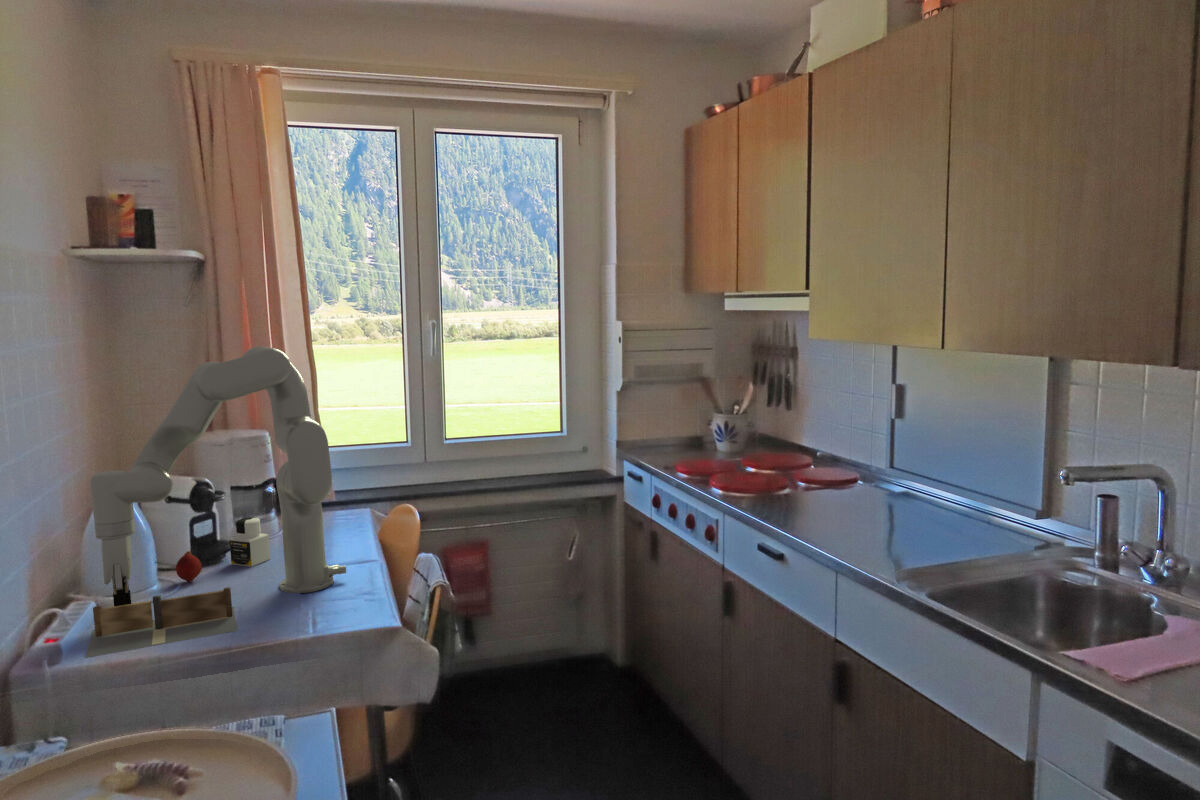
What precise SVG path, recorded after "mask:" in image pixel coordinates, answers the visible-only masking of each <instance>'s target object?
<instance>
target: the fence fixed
mask: <svg viewBox="0 0 1200 800" xmlns="http://www.w3.org/2000/svg"><path fill="white" fill-rule="evenodd" d="M152 606H153V607H152V608H153V616H154V617H153V618H154V620H155V629H162V628H166V627H172V626H178V625H184V624H190V623H195V622H201V621H207V620H213V619H219V618H225V617H232V616H233V613H232V607H233V604H232V591H231V587H228V586H227V587H224V588H223V590H216V591H210V592H202V593H196V594H191V595H185V596H178V597H172V598H171V597H170V598H165V599H162V596H161V595H154V596H152Z"/></svg>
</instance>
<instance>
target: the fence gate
mask: <svg viewBox="0 0 1200 800" xmlns="http://www.w3.org/2000/svg"><path fill="white" fill-rule="evenodd" d="M101 607H102V606H100V605H96V606H93V607H92V612H93V613H92V615H93V623H94V630H95V635H96V637H101V636H105V635H111V634H117V633H123V632H128V631H134V630H140V629H146V628H152V627H153V620H154V619H153V618H154V617H153V609H152V608H153V607H152V601H151V600H147V601H141V602H140V601H139V602H135V603H134V602H133V603H131V604H127V605H121V606H114V605H113V606H109V607H103V608H101Z"/></svg>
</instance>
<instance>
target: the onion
mask: <svg viewBox="0 0 1200 800" xmlns="http://www.w3.org/2000/svg"><path fill="white" fill-rule="evenodd" d="M202 567H203V566H202V562H201V560H200V559H199V558H198V557H197V556H196V555H193V554H192V551H190V550H187V551H185V553H184V555H182V556H181V557H180V558H179V560H178V561H177V563H176V565H175V571H176V575H177V577H179V578H180V579H181V580H183V581H185V582H188V583H191V582H193V581H194V580H195V579H196V578H197V577H198V576H199V575H200V574H201V572H202Z"/></svg>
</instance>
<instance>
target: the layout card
mask: <svg viewBox="0 0 1200 800" xmlns="http://www.w3.org/2000/svg"><path fill="white" fill-rule="evenodd" d="M232 613H233V616H232V617H225V618H219V619H213V620H207V621H201V622H195V623H190V624H184V625H178V626H172V627H166V628H162V629H155V619H153V627H152V628H146V629H140V630H134V631H128V632H123V633H117V634H111V635H105V636H101V637H96V635H95V629H93V630H92V631H91V635H90V638H89V642H88V646H87V648H86V653H85V656H84V659H86V658H87V659H88V658H93V657H94V658H95V657H98V656H102V655H109V654H114V653H115V654H116V653H120V652H126V651H133V650H137V649H138V650H139V649H144V648H147V647H156V646H159V645H164V644H170V643H171V644H173V643H176V642H182V641H188V640H193V639H194V640H195V639H200V638H205V637H209V636H210V637H211V636H215V635H221V634H227V633H233V632H237V631H238V625H237V619H236V614H235V607H234V606H232Z"/></svg>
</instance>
